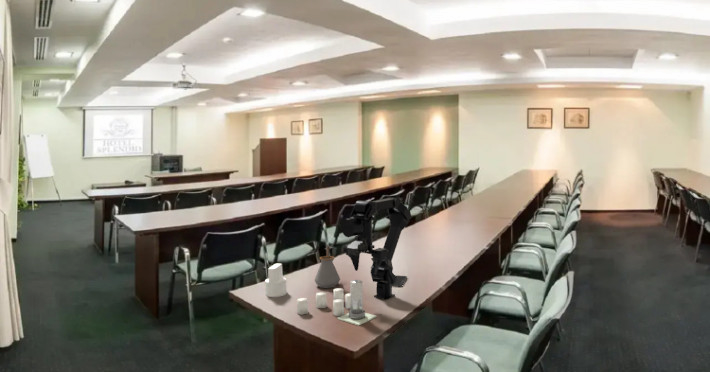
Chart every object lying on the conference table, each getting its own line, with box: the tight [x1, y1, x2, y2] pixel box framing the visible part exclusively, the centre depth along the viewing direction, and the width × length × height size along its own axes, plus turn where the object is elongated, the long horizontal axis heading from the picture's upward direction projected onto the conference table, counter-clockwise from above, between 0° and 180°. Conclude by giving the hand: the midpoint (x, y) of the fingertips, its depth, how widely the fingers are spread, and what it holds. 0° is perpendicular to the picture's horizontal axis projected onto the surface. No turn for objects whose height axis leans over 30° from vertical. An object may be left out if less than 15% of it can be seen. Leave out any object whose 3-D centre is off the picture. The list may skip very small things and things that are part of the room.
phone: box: [392, 274, 408, 288], centre depth 209 cm, size 8×1×15 cm
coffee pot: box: [314, 245, 341, 289], centre depth 210 cm, size 21×12×15 cm, turn 0°
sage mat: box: [337, 312, 377, 326], centre depth 166 cm, size 10×10×1 cm
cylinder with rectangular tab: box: [264, 263, 288, 298], centre depth 196 cm, size 9×9×12 cm
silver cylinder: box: [348, 279, 366, 320], centre depth 165 cm, size 6×6×13 cm
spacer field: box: [296, 287, 351, 317], centre depth 175 cm, size 21×16×5 cm
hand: (365, 272), depth 178 cm, fingers open, 9 cm apart
